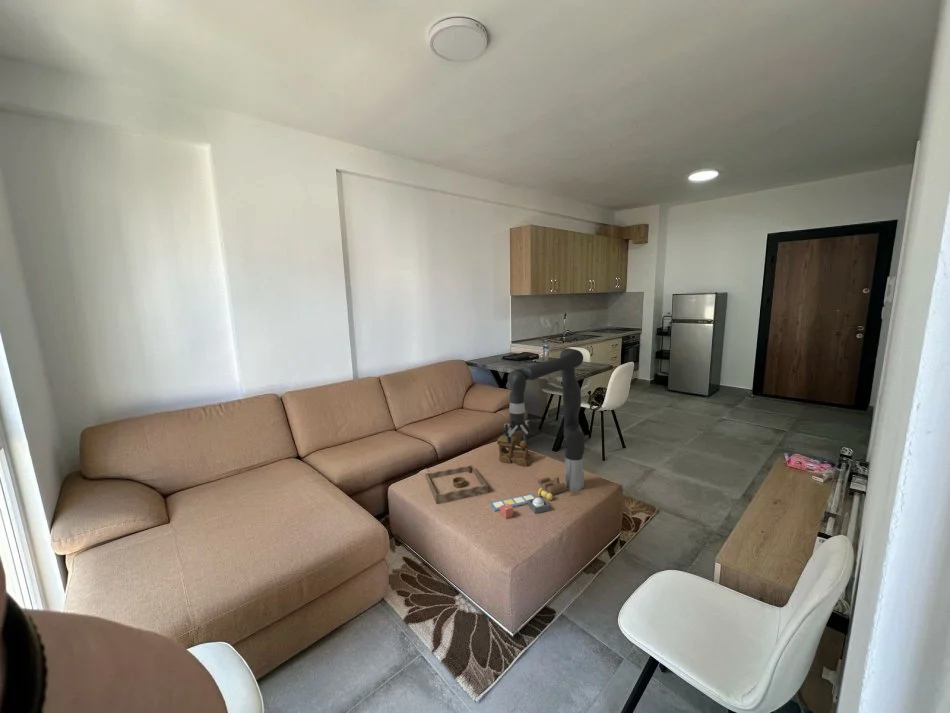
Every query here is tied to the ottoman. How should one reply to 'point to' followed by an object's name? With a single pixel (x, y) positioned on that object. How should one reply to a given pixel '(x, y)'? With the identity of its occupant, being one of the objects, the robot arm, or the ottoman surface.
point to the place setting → (460, 480)
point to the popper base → (540, 508)
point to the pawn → (545, 494)
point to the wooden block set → (550, 487)
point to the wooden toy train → (513, 452)
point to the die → (506, 511)
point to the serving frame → (458, 493)
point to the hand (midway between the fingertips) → (517, 441)
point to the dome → (538, 502)
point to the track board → (512, 501)
